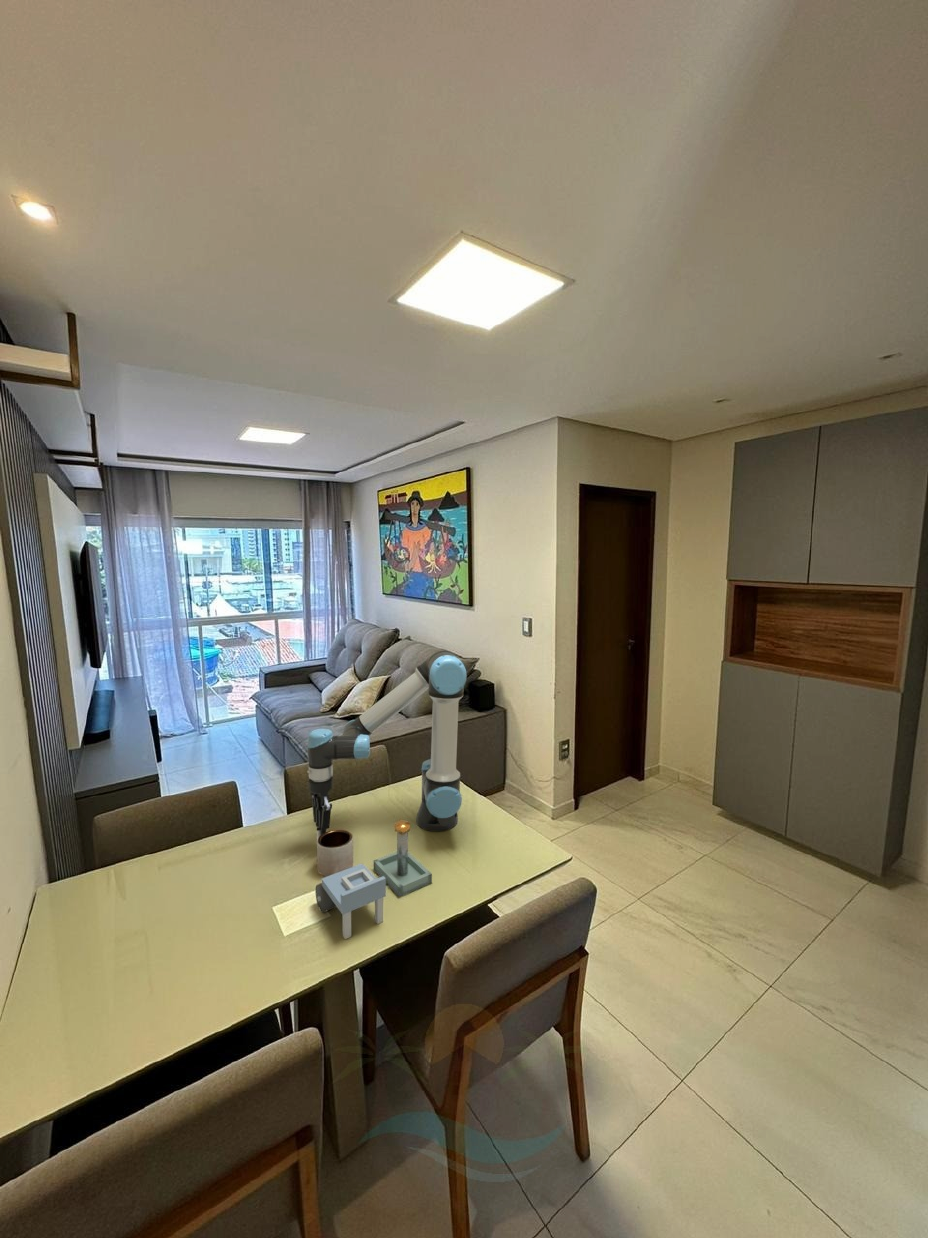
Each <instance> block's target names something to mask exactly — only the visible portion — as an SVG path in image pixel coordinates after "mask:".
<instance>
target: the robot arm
mask: <svg viewBox="0 0 928 1238" xmlns="http://www.w3.org/2000/svg"><path fill="white" fill-rule="evenodd" d="M466 682H467V669H466V667H465V665H464V663H463V662H462V661H461V659H459V658H458V657H457V655H455V653H453V652H451V651H449V650H445V649H444V650H443V649H442V650H439V651H435V652H433V653H432V654H431V655H430V656H429V657H427V658H426V659H425V660H424V661H423V662H422V663H420V664H419V665H418V666H417V667H415V671H414V672H413V673H412V674H411V675H410V676H409V677H407V678H406V679H404V680H403V681H402V682H401V683H399V684H398V685H397V686H395V688H393V689H392V690H391V691H390V692H388V693H386V695H384V696H383V697H382V698H381V699H379V700H378V701H377V702H376V703H374V704H373V705H372V706H370V707H369V708H368V709H367V710H366V711H364V712H363V713H362V714H361V715H359V716H358V717H356V718H355V719H352V720H349V721H348V722H346V724H345V726H344V727H343V730H342V735H333V731H332V730H331V729H328V728H317V729H314V730H311V731H310V732H309V733H308V737H307V738H308V739H307V740H308V741H307V744H308V745H307V757H308V770H306V771H307V774H308V790H309V792H310V797H311V803H312V804H311V805H312V814H313V815H312V817H313V822H314V823H315V827H316V841H317V840H318V838H319V837H320V836H321V835H322V834H323V833H325V832H327V830H329V829H330V826H331V824H330V823H331V813H332V809H333V804H332V803H330V802H329V800H330V794H329V792H330V791H331V790H332V789H333V787H334V778H333V775H334V764H333V763H334V761H333V760H338V761H339V760H360V759H368V758H369V757H370V754H371V752H370V751H371V747H370V745H371V744H370V743H371V742H370V741H371V740H370V738H371V737H370V736H371V735H372V734H373V733H374V732H376V731H377V730H378V729H380V728H381V727H382V726H383V725H384V724H386V723H387V722H389V720H391V719H392V718H393V717H395V716H396V715H397V714H398V713H399V712H401V711H402V710H403V709H405V708H406V707H408V705H410V704H411V703H412V702H414V701H415V700H416V699H417V698H418V697H421V695H422V694H423V693H425V692H426V691H427V690H428V697H429V698H431V700H432V712H431V713H432V714H431V715H432V716H431V718H432V719H431V745H430V746H431V748H430V752H431V753H430V758H429V759H427V760H424V761H423V762H422V764H421V801H420V805H419V807H418V812H417V814H416V824H417V825H418V827H419V828H421V829H423V830H425V831H429V832H445V831H449V830H450V829H452V828H454V827H456V825H457V824H458V822H459V821H458V819H459V816H458V812H459V811H460V809H461V807H462V800H463V798H462V794H461V791H460V790H461V789H460V787H461V772H460V771H459V770H458V769H457V750H458V730H459V729H458V727H459V726H458V724H459V722H458V721H459V702H460V700H461V699H462V698H463V697H464V688H465V685H466Z"/></svg>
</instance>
